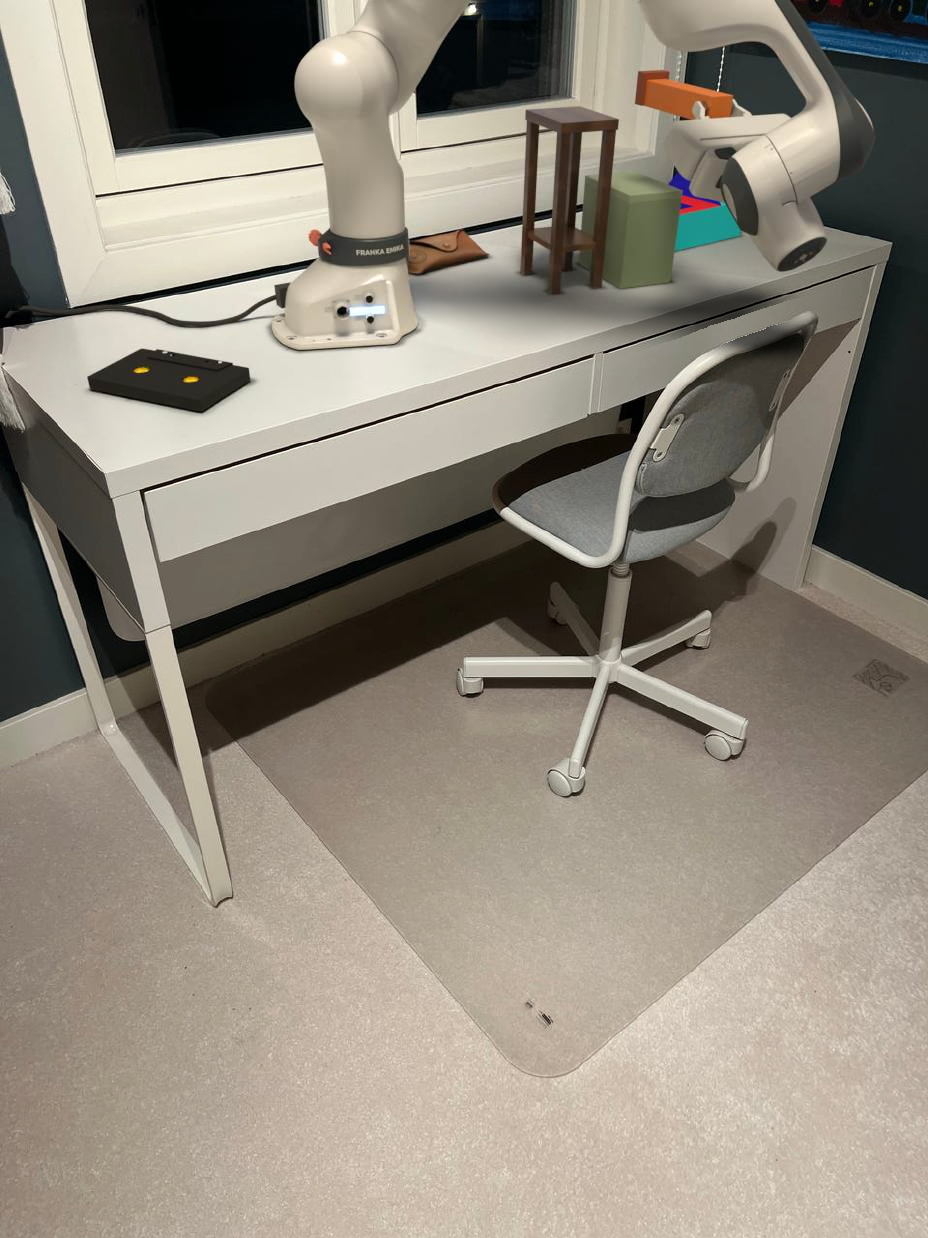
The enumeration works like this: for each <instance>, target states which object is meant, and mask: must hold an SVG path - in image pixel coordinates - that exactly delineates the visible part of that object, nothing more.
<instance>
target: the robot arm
mask: <svg viewBox="0 0 928 1238" xmlns="http://www.w3.org/2000/svg"><path fill="white" fill-rule="evenodd" d="M471 2H472V0H367V1H366V4H365V5H364V9H363V11H362V13H361V15H360V16H359V17H358V20H357V21H356V22H355V24H354V25H353V26H352V27H351V28H350V29H348V30H347V31H346V32H345V33H341V34H337V35H333V36H330V37H327V38H323V39H322V40H320V41H319V42H317V43H316V44H315V45H314V46H313V47H311V49H309V51H308V52H307V53H306V54H305V55H304V56H303V58H302V59H301V60H300V62H299V63H298V66H297V67H296V71H295V75H294V93H295V98H296V102H297V104H298V107H299V109H300V110H301V112H302V114H303V115H304V117H305V118H306V119H307V120H308V121H309V123H310V125H311V127H312V130H313V133H314V136H315V140H316V143H317V146H318V147H317V148H318V151H319V153H320V158H321V161H322V166H323V170H324V176H325V183H326V184H325V186H326V198H327V207H328V208H327V209H328V221H329V228H328V229H327V230H326V231H325V232H324V233H322V232H320V231H319V230H318V229H312V230H310V231H309V233H308V237H307V238H308V241H309V242H310V243H311V244H312V246H315V247H317V252H318V257H317V259H315V260H314V261H313V262H312V263H311V264H310V265H309V266H308V267H307V268H306V269H305V270H303V271H302V273H300V274H299V275H298V276H297V277H296V278H294V279H293V280H292V281H290V282H284V283H279V284H274V295H273V294H272V295H271V296H268V297H266V298H264V299H261V300H260V301H257V302H256V303H255V304H253V305H252V306H250V307H249V308H248V309H246V310H245V311H243V312H242V313H239V314H236V315H235V316H234V315H233V316H231V317H228V318H221V319H217V320H207V321H205V320H204V321H202V320H201V321H200V320H198V321H196V320H183V319H176V318H173V317H170V316H168V315H166V314H163V313H161V312H158V311H155V310H152V309H147V308H142V307H138V306H133V305H127V304H126V305H125V304H100V305H91V306H85V307H78V308H70V309H50V308H43V307H38V306H31V305H21V306H22V307H21V308H19V310H21V311H19V310H18V311H11V310H9V311H8V312H7V313H6V315H5V316H4V318H5V319H10V318H12V317H13V316H14V315H16V314H17V313H20V312H35V313H40V314H46V315H53V316H68V315H76V314H82V313H89V312H97V311H105V310H106V311H107V310H108V311H109V310H110V311H111V310H113V311H114V310H116V311H117V310H118V311H130V312H136V313H140V314H145V315H149V316H153V317H157V318H160V319H162V320H164V321H166V322H168V323H171V324H174V325H177V326H183V327H214V326H215V327H216V326H222V325H227V324H231V323H234V322H237V321H240V320H243V319H244V318H246V317H248V316H249V315H251V314H252V313H253V312H255V311H257V309H260V308H261V307H263V306H264V305H266V304H269V303H271V302H274V301H275V303H276V306H277V307H279V308H280V309H284V312H283V313H279V314H277V315H275V316H274V317H273V318H272V320H271V331H272V334H273V336H274V337H275V338H276V340H277V341H279V342H280V343H281V344H283V345H284V346H286V347H288V348H291V349H294V350H297V351H298V350H300V351H302V350H303V351H304V350H319V349H334V348H335V349H336V348H337V349H338V348H351V347H366V346H367V347H368V346H381V345H382V346H384V345H394V344H396V343H399V341H400V340H401V339H402V337H403V336H405V335H407V334H410V333H411V332H413V331H414V330H415V329H417V327H418V326H419V319H418V315H417V312H416V308H415V305H414V301H413V296H412V292H411V285H410V278H409V272H408V266H409V257H410V246H409V241H410V237H409V229H408V227H406V211H405V209H406V207H405V177H404V170H403V167H402V165H401V164H400V163H399V160H398V159H397V158H398V157H397V155H396V151H395V147H394V144H393V140H392V133H391V129H390V116H392V115H394V114H396V113H398V112H399V111H400V110H401V109H402V108H404V106H405V105H406V104H407V103H408V101H409V100H410V98H411V97H412V96H413V93H414V92H415V90H416V88H417V86H418V85H419V83H420V82H421V81H422V78H423V77H424V75H425V74H426V72H427V70H428V68H429V66H430V65H431V64H432V61H433V60H434V57H435V56H436V54H437V52H438V50H439V48H440V46H441V45H442V43H443V41H444V40H445V38H446V37H447V35H448V33H449V32H450V31H451V29H452V28H453V27H454V25H455V24H456V22H457V21H458V20H459V19H460V17H461V16H462V14H463V13H464V12H465V10H466V9H467V7H468V6H469V4H470V3H471ZM635 2H636V5H637V6H638V8H639V10H640V12H641V14H642V17H643V18H644V20H645V22H646V24H647V25H648V27H649V29H650V30H651V32H652V34H653V35H654V37H655V38H656V40H657V42H659V43H661V45H663V46H665V47H667V48H669V49H671V50H674V51H677V52H685V53H686V52H687V53H693V52H695V53H696V52H702V51H707V50H708V51H709V50H713V49H717V48H721V47H725V46H730V45H734V44H739V43H744V42H757V43H758V42H759V43H762V44H765V45H767V46H768V47H769V48H770V49H772V50H773V51H774V53H775V54H776V56H777V57H778V59H779V60H780V61H781V63H782V65H783V66H784V68H785V69H786V71H787V73H788V74H789V76H790V77H791V79H792V80H793V82H794V83H795V85H796V86H797V88H798V89H799V91H800V93H801V94H802V95H803V97H804V98H805V106H804V107H803V109H801V111H800V112H798V113H797V114H795V115H794V116H792V117H790V116H789V115H788V114H786V113H773V114H772V113H771V114H770V113H769V114H759V115H758V114H757V115H753V114H752V113H751V112H750V111H749V110H747V109H745V108H744V107H742V106H741V105H739V104H738V103H737V101H736V99H734V98H733V101H732V107H731V114H730V117H727V118H713V119H710V118H709V116H706V113H707V112H708V110H709V106H708V105H707V104H706V101H696V102H695V104H694V106H693V108H692V113H693V115H694V117H695V118H696V120H691V119H687V120H676V121H673V123H672V124H671V126H670V128H669V130H668V131H667V132H668V133H667V134H666V136H665V140H664V145H663V146H664V149H665V152H666V154H667V156H668V157H669V159H670V161H671V163H672V165H673V166H674V168H676V170H677V173H678V172H679V173H680V174H681V175H682V176H683V177H684V178H685V179H687V180H689V181H691V183H690V186H689V189H690V192H691V193H692V194H693V195H694V196H696V197H700V198H706V199H711V200H715V201H719V202H722V203H725V204H726V206H727V208H728V210H729V212H730V213H731V215H732V217H733V218H734V220H735V222H736V224H737V225H738V227H739V229H740V230H741V232H743V233H745V234H747V235H748V236H749V238H750V239H751V241H752V242H753V244H754V245H755V247H756V249H757V250H758V251H759V252H760V254H761V255H762V257H763V258H764V259H765V260H766V261H767V263H768V264H769V265H770V266H771V267H772V268H773V269H774V270H775V271H776V272H779V273H785V272H789V271H793V270H795V269H797V268H799V267H801V266H803V265H805V264H806V263H808V262H809V261H811V260H813V259H814V258H815V257H816V256H817V255H818V254H819V253H821V252H822V250H823V249H824V247H825V246H826V244H827V242H828V235H827V232H826V228H825V226H824V224H823V222H822V219H821V216H820V214H819V212H818V210H817V208H816V206H815V204H814V202H813V200H812V199H811V197H812V196H814V195H815V194H818V193H819V192H821V191H822V190H825V188H827V187H830V186H831V185H832V184H837V183H838V182H841V181H843V180H844V179H846V178H849V177H851V176H852V175H853V176H854V174H857V173H858V172H860V171H862V169H863V168H864V166H865V164H866V163H867V160H868V159H869V156H870V154H871V152H872V149H873V147H874V145H875V140H876V135H875V130H874V126H873V123H872V120H871V118H870V116H869V114H868V112H867V111H866V109H865V108H864V106H863V105H862V104H861V103H860V102H859V100H857V99H856V97H855V96H854V95H853V93H852V92H851V91H850V89H849V88H848V87H847V85H846V84H845V82H844V81H843V80H842V79H841V76H840V75H839V73H838V72H837V70H836V69H835V68H834V66H833V64H832V62H831V61H830V60H829V58H828V56H827V55H826V53H825V52H824V50H823V49H822V47H821V45H820V44H819V42H818V40H817V39H816V38H815V36H814V34H813V33H812V31H811V30H810V28H809V26H808V24H807V23H806V22H805V20H804V19H803V18H802V16H801V14H800V13H799V12H798V10H797V9H796V7H795V6H794V4H793V2H792V1H791V0H635Z"/></svg>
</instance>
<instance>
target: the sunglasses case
mask: <svg viewBox="0 0 928 1238" xmlns="http://www.w3.org/2000/svg"><path fill="white" fill-rule="evenodd" d="M409 246H410V257H409V266H408V274H409V273H410V274H413V275H421V274H424V273H427V272H430V271H433V270H434V271H435V270H439V269H443V268H447V267H451V266H457V265H461V264H466V263H469V262H473V261H477V260H480V259H482V258H485V257H487V256H490V253H488V252H486V251H485V250H484V249H483V248H482V247H481V246H480V245H478V244H477V242H476V241H474V240H473V239H472V237H470V236H469V235H468V234H467V233H466V230H465V229H464V228H461V229H458V230H456V231H453V232H449V233H444V234H438V235H434V236H429V237H424V238H421V239H415V240H409Z"/></svg>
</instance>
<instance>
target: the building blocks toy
mask: <svg viewBox="0 0 928 1238" xmlns="http://www.w3.org/2000/svg"><path fill="white" fill-rule="evenodd" d="M690 183H691V181H689V180H687V179H685V178H684V177H683V176H682V175H681V174H680V173H679V172H678V171H677V173H676V174H675V175H674V176H673V177H672V179H671V180H670V181H669V182H668V183H667V184H668V185H670V186H673V187H675V188H678V189H680V190H683V192H682V199H681V207H680V214H679V221H678V229H677V236H676V244H675V251H674V252H678V251H681V250H686V249H690V248H695V247H698V246H703V245H708V244H711V243H716V242H720V241H724V240H729V239H732V238H733V239H734V238H736V237H740V236H741V232H742V231H741V230H740V229H739V227H738V225H737V224H736V222H735V220H734V218H733V217H732V215H731V213H730V212H729V210H728V208H727V206H726V204H725V203H722V202H719V201H715V200H711V199H706V198H700V197H696V196H694V195H693V194H692V193H691V192H690V189H689V186H690Z"/></svg>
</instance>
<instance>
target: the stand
mask: <svg viewBox="0 0 928 1238" xmlns="http://www.w3.org/2000/svg"><path fill="white" fill-rule="evenodd" d="M524 116H525V117H524V120H525V121H526V126H525V128H526V129H525V149H524V150H525V153H524V176H523V178H524V179H523V203H522V223H521V224H522V225H521V244H520V245H521V248H520V271H519V273H520V274H522V275H523V276H529V275H533V263H534V262H533V261H534V243H537V244H538V245H540V246H542V247H543V248H544V249H547V250H548V251H549V258H548V259H549V260H548V261H549V262H548V275H547V276H548V278H547V292H548V293H549V294H551V295H556V294H560V293H561V284H562V283H561V282H562V271H572V270H573V261H574V252H579V251H582V250H591V249H592V259H591V271H590V270H589V272H590V273H589V284H588V285H589V287H590V288H592V289H600V288H601V289H602V287H603V286H602V285H603V278H602V277H603V266H604V255H605V245H606V234H607V223H608V212H609V202H610V191H611V180H612V173H613V170H614V169H613V168H614V156H615V148H616V147H615V146H616V145H615V144H616V136H617V131H618V130H619V123H620V119H619V118H616V117H613V116H611V115H608V114H604V113H601V112H598V111H595V110H592V109H589V108H587V107H583V106H580V105H579V106H564V107H563V106H561V107H545V108H532V109H531V108H530V109H525V115H524ZM540 127H542V128H545V129H548V130H550V131H553V132H556V140H555V141H556V144H555V161H554V175H553V177H554V178H553V192H552V195H553V196H552V209H551V211H552V212H551V226H543V227H535V223H536V222H535V221H536V202H537V201H536V200H537V185H538V184H537V182H538V162H539V144H540V143H539V141H540V140H539V139H540ZM591 132H593V133H594V132H601V143H600V155H599V166H598V167H599V168H598V174H599V177H598V189H597V201H596V212H595V224H594V236H593V237H592V236H591V235H589V234H587V233H585V232H583V231H581V229H579V228H577V227H576V221H577V208H578V194H579V181H580V167H581V166H580V165H581V152H582V139H583V133H591Z"/></svg>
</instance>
